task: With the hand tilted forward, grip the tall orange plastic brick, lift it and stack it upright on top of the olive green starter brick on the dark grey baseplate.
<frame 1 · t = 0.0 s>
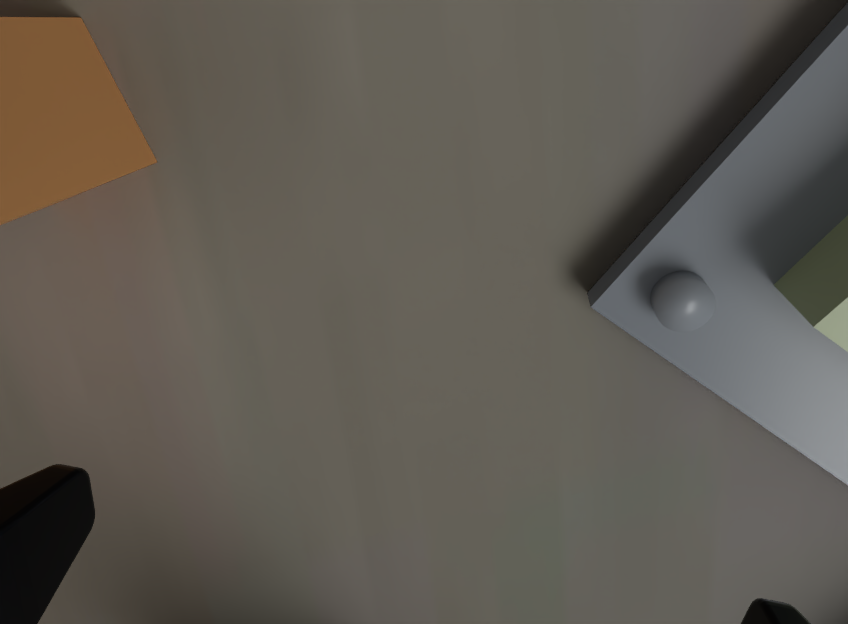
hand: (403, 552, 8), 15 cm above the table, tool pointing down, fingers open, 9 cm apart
orange brick: (65, 118, 22), on the table
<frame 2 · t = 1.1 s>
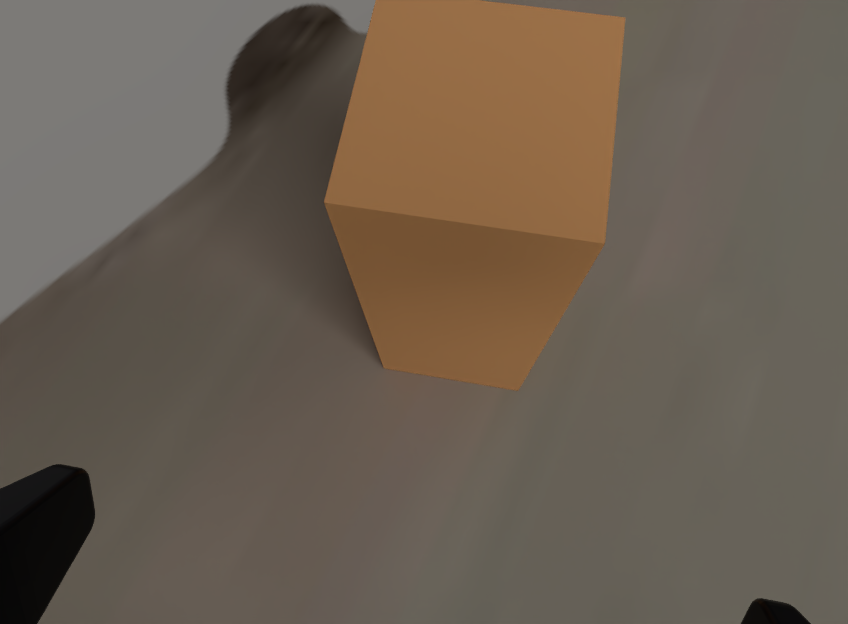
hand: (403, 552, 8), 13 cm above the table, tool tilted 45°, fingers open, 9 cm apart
orange brick: (460, 316, 23), on the table
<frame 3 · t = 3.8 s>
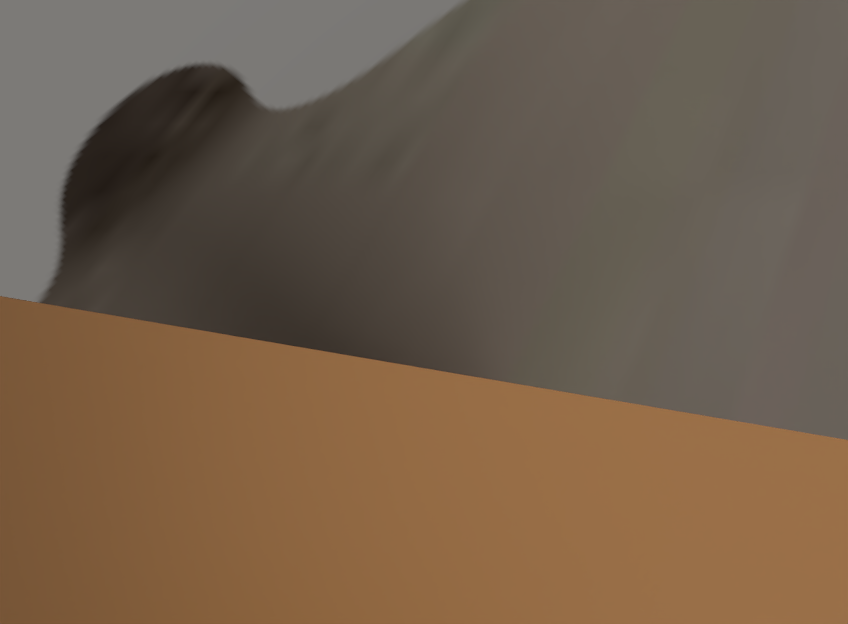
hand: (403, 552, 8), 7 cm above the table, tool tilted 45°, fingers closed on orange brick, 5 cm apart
orange brick: (407, 605, 14), on the table, touching gripper
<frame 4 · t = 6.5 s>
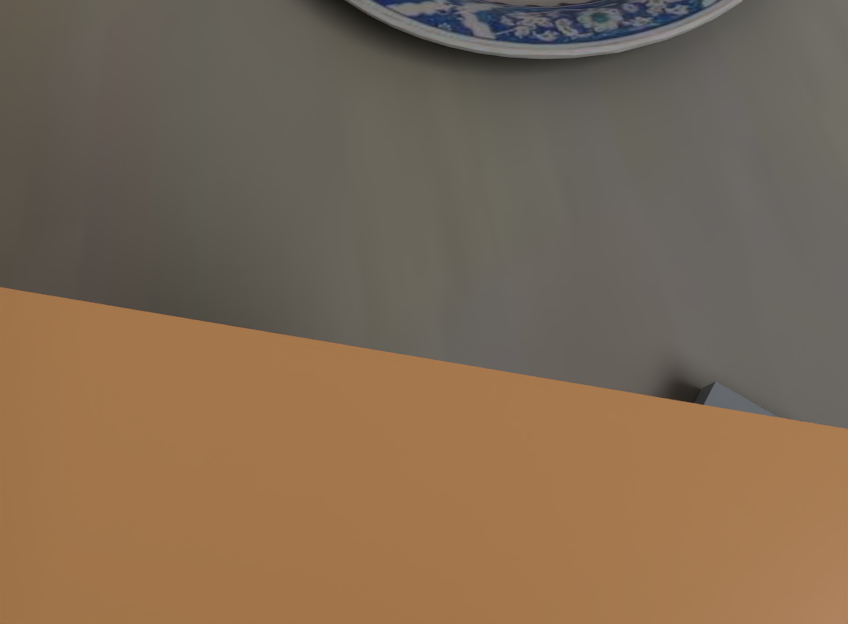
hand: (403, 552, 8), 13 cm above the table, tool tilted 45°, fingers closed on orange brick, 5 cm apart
orange brick: (406, 602, 14), point 6 cm above the table, touching gripper
when the fingers open (12 cm above the table, at t = 8.3 s): orange brick drops 1 cm, resting on tower base.
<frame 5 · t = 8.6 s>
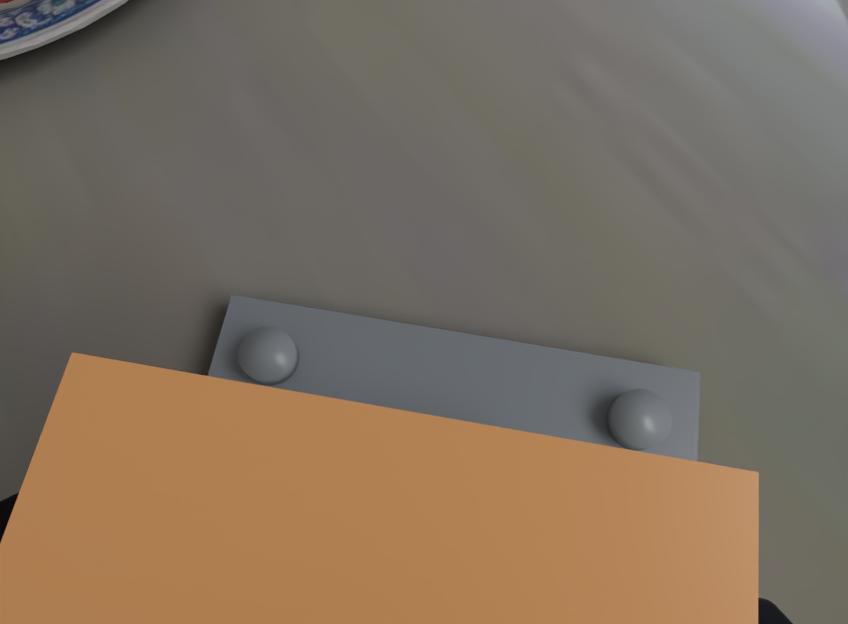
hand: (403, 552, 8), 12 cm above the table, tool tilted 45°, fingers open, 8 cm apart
tower base: (417, 582, 19), on the table
orange brick: (411, 595, 15), point 4 cm above the table, touching tower base
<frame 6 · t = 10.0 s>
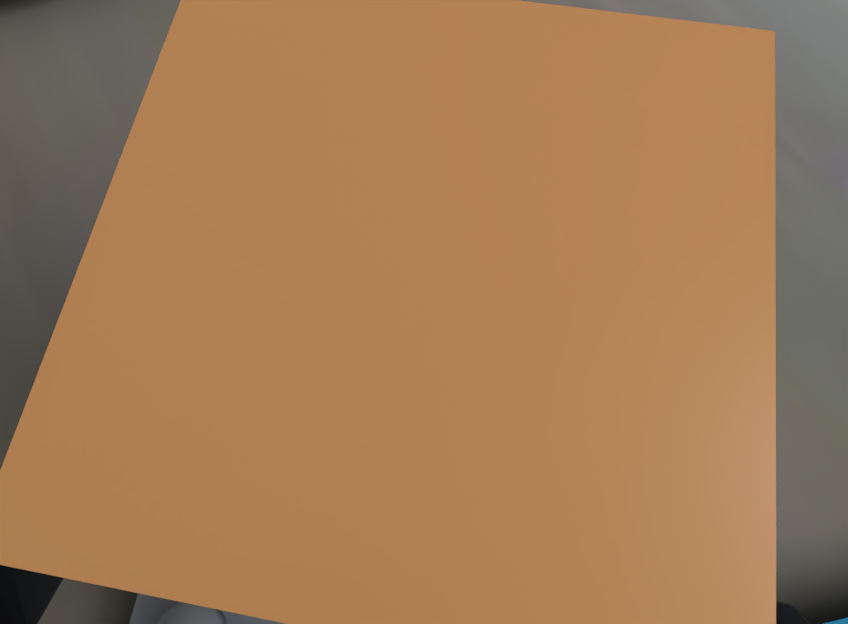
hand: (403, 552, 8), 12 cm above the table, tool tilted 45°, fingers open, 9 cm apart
tower base: (436, 463, 20), on the table
orange brick: (435, 448, 16), point 4 cm above the table, touching tower base
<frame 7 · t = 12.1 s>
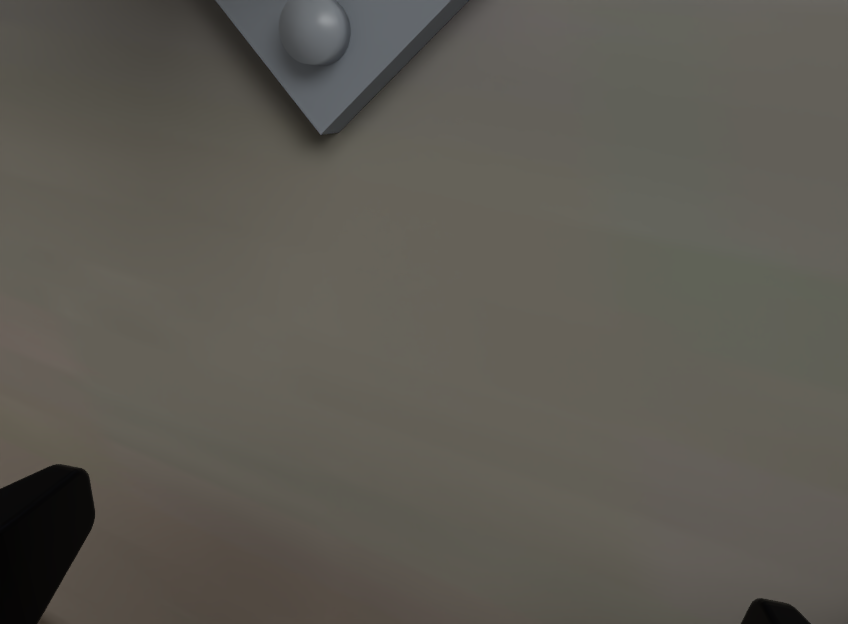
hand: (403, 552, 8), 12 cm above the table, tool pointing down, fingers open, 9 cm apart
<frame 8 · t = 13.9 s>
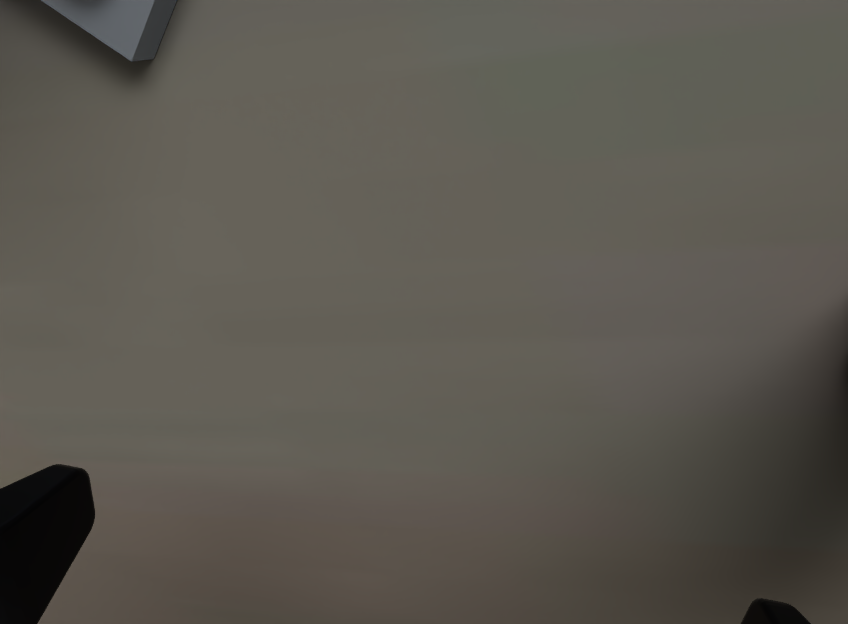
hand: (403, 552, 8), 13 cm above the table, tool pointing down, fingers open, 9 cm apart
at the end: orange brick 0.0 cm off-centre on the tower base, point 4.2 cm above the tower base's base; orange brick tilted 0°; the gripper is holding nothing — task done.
